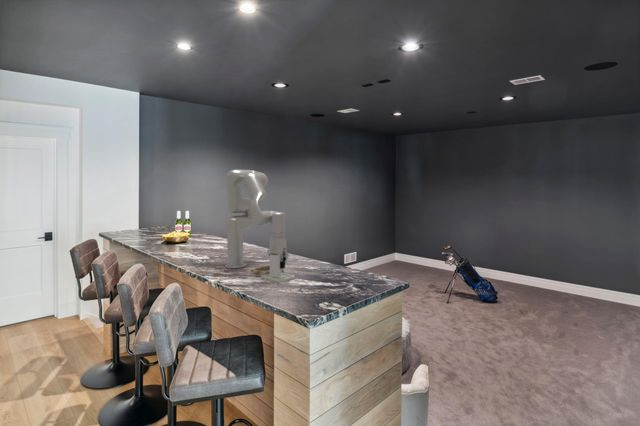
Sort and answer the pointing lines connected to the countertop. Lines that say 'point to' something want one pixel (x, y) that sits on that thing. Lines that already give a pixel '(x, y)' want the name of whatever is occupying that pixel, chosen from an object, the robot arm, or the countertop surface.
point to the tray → (278, 278)
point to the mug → (275, 265)
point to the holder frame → (259, 270)
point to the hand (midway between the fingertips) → (277, 266)
